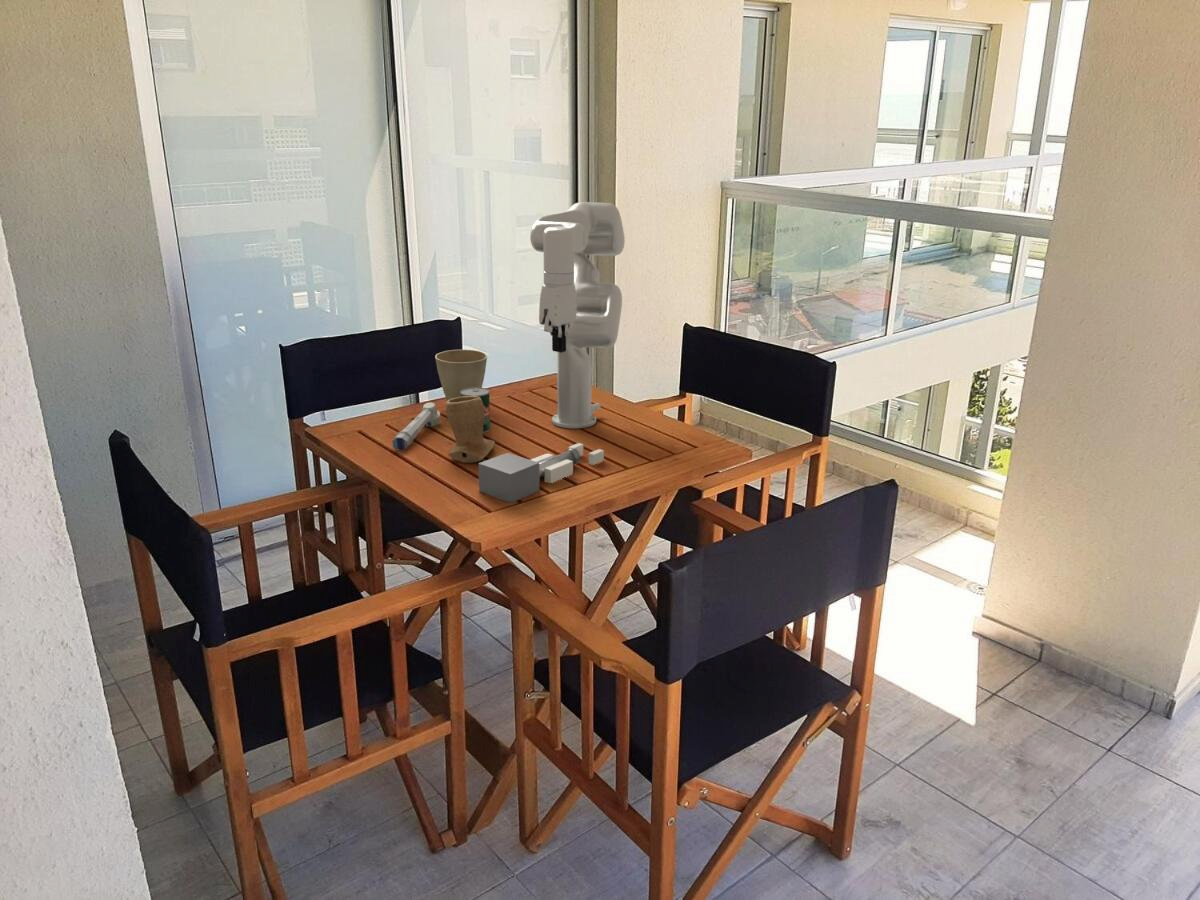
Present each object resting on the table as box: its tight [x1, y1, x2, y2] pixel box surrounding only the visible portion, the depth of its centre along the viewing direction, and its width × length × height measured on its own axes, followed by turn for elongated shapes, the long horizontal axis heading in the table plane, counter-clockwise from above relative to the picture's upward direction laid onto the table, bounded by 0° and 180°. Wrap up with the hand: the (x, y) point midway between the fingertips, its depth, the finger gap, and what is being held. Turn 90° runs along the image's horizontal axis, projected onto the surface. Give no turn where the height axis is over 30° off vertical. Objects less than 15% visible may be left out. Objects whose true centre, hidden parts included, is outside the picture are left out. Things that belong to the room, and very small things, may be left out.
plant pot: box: [434, 349, 488, 402], centre depth 275 cm, size 15×15×16 cm
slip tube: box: [539, 448, 581, 479], centre depth 225 cm, size 24×4×4 cm, turn 141°
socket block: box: [478, 452, 540, 504], centre depth 217 cm, size 10×10×7 cm
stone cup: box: [445, 396, 496, 464], centre depth 238 cm, size 15×12×15 cm
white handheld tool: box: [391, 402, 441, 451], centre depth 254 cm, size 5×7×25 cm
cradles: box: [530, 442, 605, 484], centre depth 232 cm, size 20×8×4 cm, turn 141°
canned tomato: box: [460, 387, 491, 434], centre depth 257 cm, size 8×8×11 cm
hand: (559, 351), depth 237 cm, fingers closed
